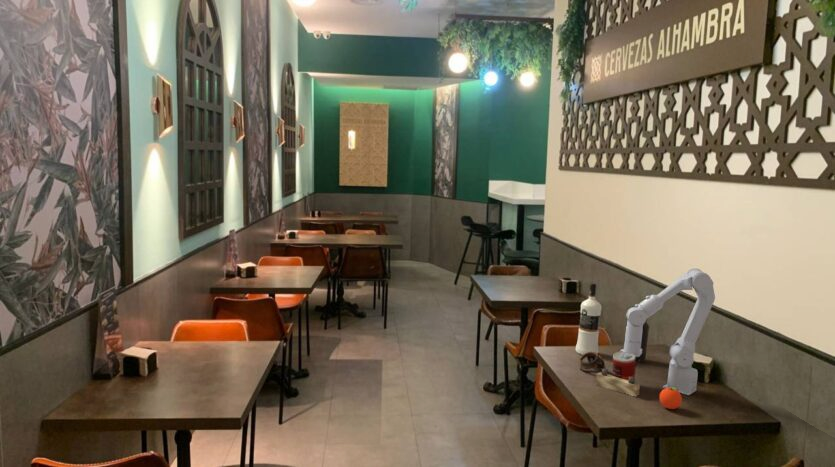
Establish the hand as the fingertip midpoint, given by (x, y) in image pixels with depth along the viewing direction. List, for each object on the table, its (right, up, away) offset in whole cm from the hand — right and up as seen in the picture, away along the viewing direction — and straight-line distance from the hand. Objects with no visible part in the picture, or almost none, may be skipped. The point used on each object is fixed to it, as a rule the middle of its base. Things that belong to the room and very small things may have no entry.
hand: (629, 376), depth 230 cm
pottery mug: (-10, -1, +13) cm, 16 cm away
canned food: (-3, -2, -3) cm, 5 cm away
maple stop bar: (-7, -3, -8) cm, 11 cm away
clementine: (+7, -6, -21) cm, 23 cm away
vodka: (-6, +2, +34) cm, 35 cm away
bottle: (+13, 0, +29) cm, 32 cm away
